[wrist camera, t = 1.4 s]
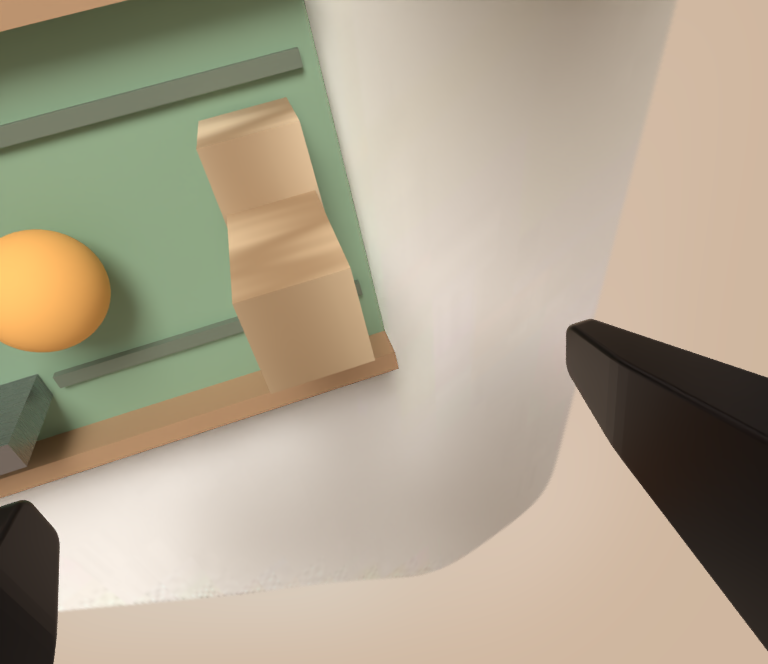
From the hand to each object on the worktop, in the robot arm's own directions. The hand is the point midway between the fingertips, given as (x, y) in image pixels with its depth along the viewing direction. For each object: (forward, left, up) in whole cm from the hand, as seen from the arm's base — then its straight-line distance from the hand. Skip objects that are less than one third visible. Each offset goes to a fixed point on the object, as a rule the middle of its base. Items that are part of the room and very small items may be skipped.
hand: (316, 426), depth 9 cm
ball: (+7, 0, -9) cm, 11 cm away
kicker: (0, 0, -11) cm, 11 cm away
